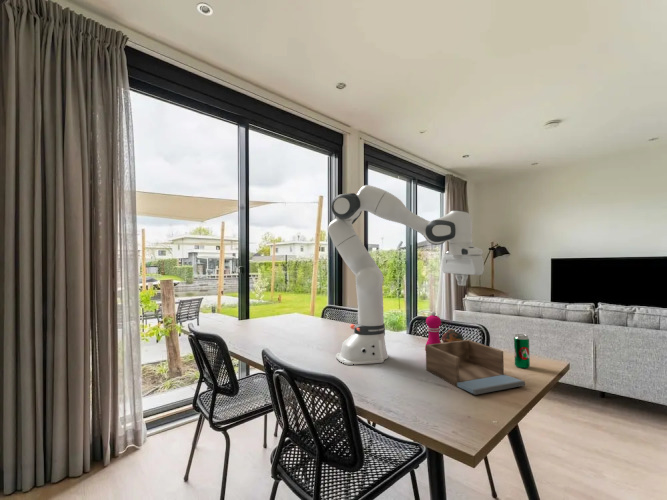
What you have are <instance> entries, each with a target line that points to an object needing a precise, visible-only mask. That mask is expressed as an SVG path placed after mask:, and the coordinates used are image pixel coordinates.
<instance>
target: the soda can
mask: <svg viewBox="0 0 667 500" xmlns="http://www.w3.org/2000/svg"><path fill="white" fill-rule="evenodd" d="M513 352H514V354H513V355H514V365H515V366H516V368H518V369H523V370H524V369H529V368H530V367H531V359H530V353H531V351H530V338H529V336H528V335H527V334H522V333H517V334H514V336H513Z"/></svg>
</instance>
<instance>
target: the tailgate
mask: <svg viewBox="0 0 667 500" xmlns="http://www.w3.org/2000/svg"><path fill="white" fill-rule="evenodd" d="M457 386H458V388H460V389H462V390H465V391H467V392H468V393H470V394H473V395H474V396H476V395H482V394H488V393H492V392H496V391H497V392H498V391H502V390H507V389H512V388H518V387H524V386H526V383H525V380H521V379H519V378H516V377H513V376H511V375H506V374H504V375H499V376H493V377H487V378H481V379H475V380H470V381H464V382H458V383H457Z"/></svg>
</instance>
